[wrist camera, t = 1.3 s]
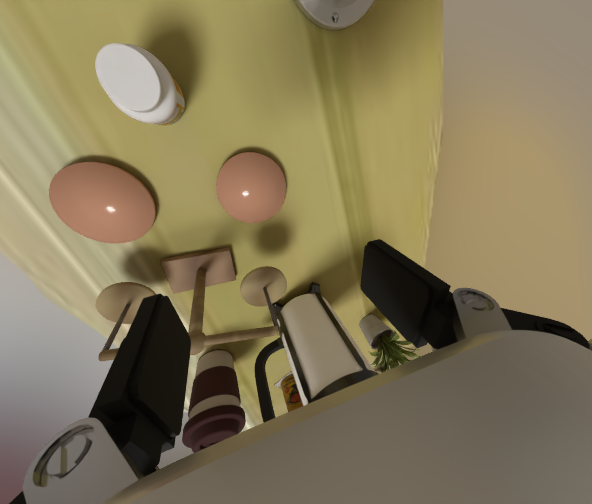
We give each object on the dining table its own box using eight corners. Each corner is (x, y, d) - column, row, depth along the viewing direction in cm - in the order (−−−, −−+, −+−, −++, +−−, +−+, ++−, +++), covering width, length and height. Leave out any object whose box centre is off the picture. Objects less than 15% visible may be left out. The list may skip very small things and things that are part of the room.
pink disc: (208, 154, 27) (208, 154, 26) (281, 149, 30) (284, 150, 29) (224, 224, 33) (224, 227, 31) (285, 215, 35) (287, 218, 34)
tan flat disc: (34, 164, 23) (26, 165, 22) (139, 158, 25) (136, 159, 24) (84, 245, 28) (79, 249, 27) (167, 232, 30) (165, 236, 29)
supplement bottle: (125, 57, 21) (71, 12, 13) (184, 76, 23) (169, 46, 15) (132, 118, 24) (89, 110, 16) (185, 130, 26) (172, 129, 18)
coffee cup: (211, 338, 43) (210, 422, 30) (247, 352, 48) (258, 428, 36) (179, 368, 44) (165, 461, 31) (218, 379, 49) (219, 461, 37)
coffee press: (283, 271, 41) (391, 486, 16) (341, 289, 48) (473, 452, 24) (246, 335, 45) (284, 575, 21) (304, 342, 53) (382, 522, 29)
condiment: (293, 368, 57) (310, 417, 48) (309, 377, 62) (327, 423, 52) (273, 384, 58) (285, 436, 48) (290, 392, 63) (304, 440, 53)
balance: (271, 238, 36) (306, 303, 22) (274, 269, 40) (307, 343, 26) (105, 266, 30) (8, 384, 16) (125, 301, 33) (60, 423, 19)
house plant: (342, 309, 52) (387, 371, 39) (389, 291, 55) (446, 343, 41) (343, 344, 60) (381, 405, 46) (385, 326, 62) (431, 380, 49)
